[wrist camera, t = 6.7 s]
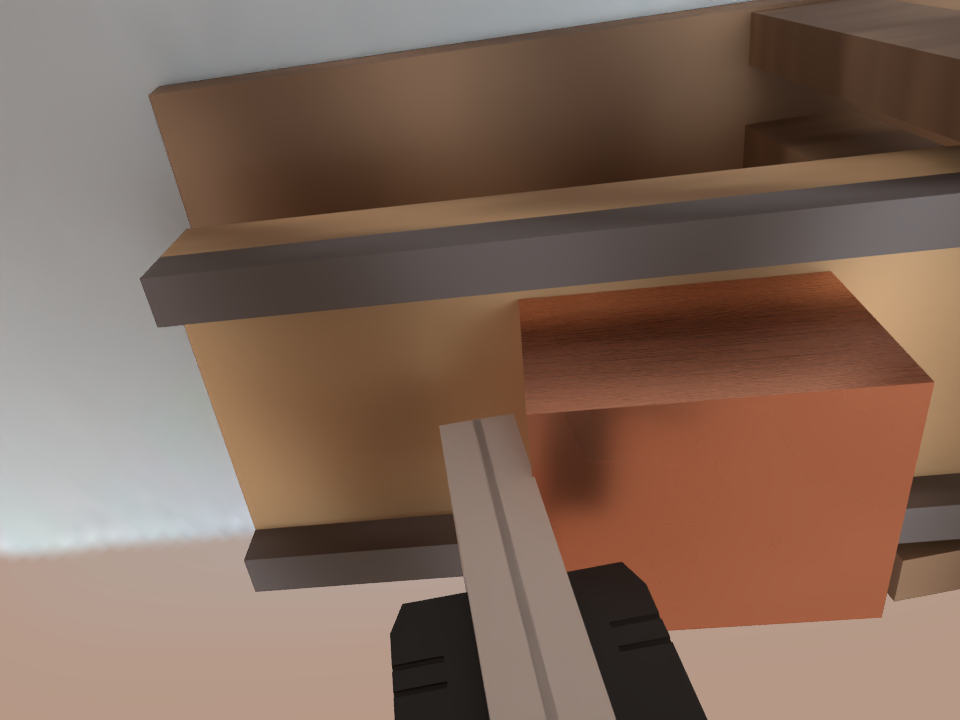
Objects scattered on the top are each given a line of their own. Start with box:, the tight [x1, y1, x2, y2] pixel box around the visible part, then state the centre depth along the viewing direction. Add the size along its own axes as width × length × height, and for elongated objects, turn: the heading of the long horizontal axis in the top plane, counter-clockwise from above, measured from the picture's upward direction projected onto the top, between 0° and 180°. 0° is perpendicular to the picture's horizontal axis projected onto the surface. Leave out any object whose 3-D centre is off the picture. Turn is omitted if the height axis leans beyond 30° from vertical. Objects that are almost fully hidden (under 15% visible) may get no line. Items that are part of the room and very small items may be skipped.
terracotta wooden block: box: [519, 271, 935, 631], centre depth 14 cm, size 6×5×4 cm
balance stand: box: [148, 0, 960, 601], centre depth 20 cm, size 34×12×10 cm, turn 96°
